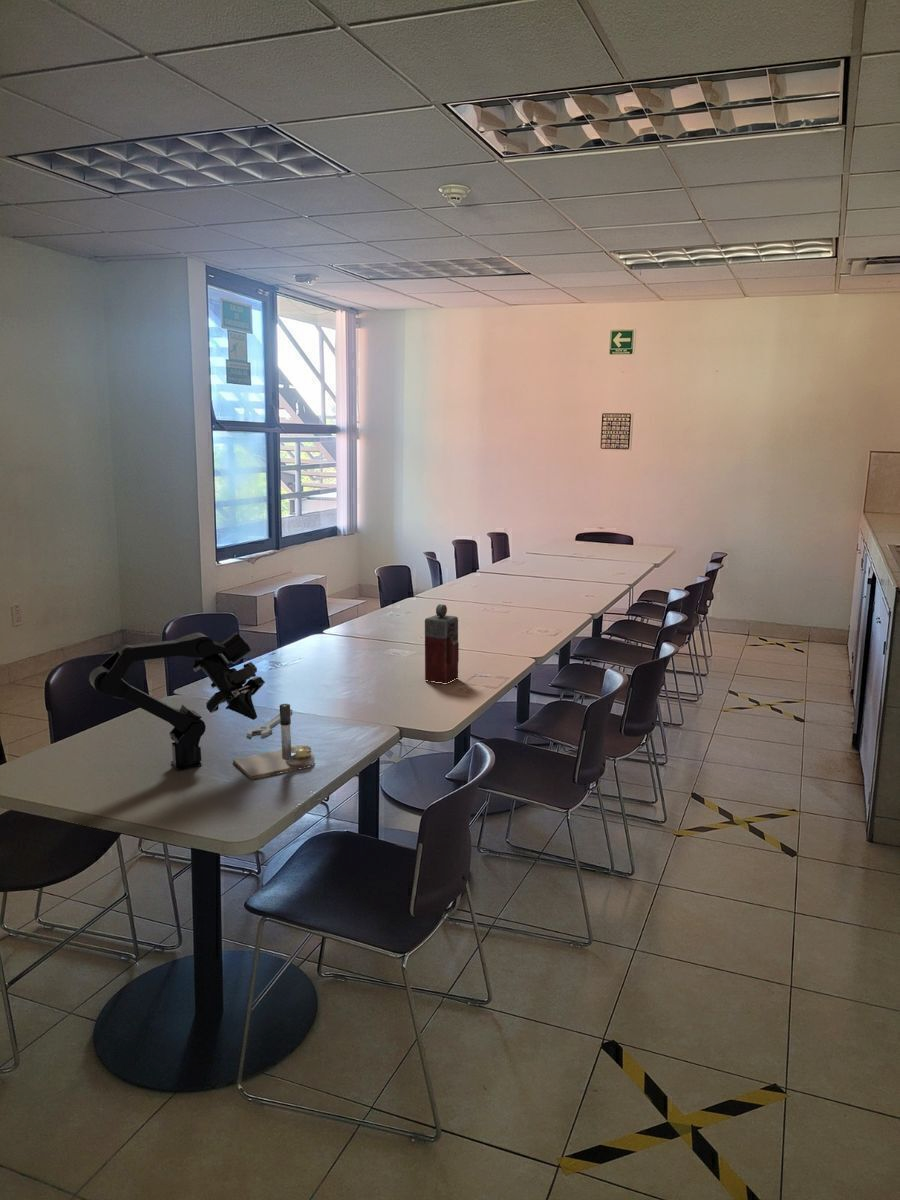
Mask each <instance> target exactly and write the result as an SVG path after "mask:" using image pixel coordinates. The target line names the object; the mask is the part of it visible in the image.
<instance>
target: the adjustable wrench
mask: <svg viewBox="0 0 900 1200" xmlns="http://www.w3.org/2000/svg"><path fill="white" fill-rule="evenodd" d="M290 715H291V716H292V715H293V709H292V708H290ZM278 724H280V713H278V714H277V715H275V716H274V717H273V718H271V719H270V720H268V721H267V722H265V723H264V724H262V725H260V726H256V727H254V728H249V729H248V730H247V732H246V736H247V738H249V737H252V738H253V736H254V734H255V735H261V738H265V736H266V737H268V736H269V734H270V733H271V734H273V728H274V727H275V726H277V725H278ZM273 726H274V727H273ZM271 734H270V735H271ZM267 735H268V736H267Z"/></svg>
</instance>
